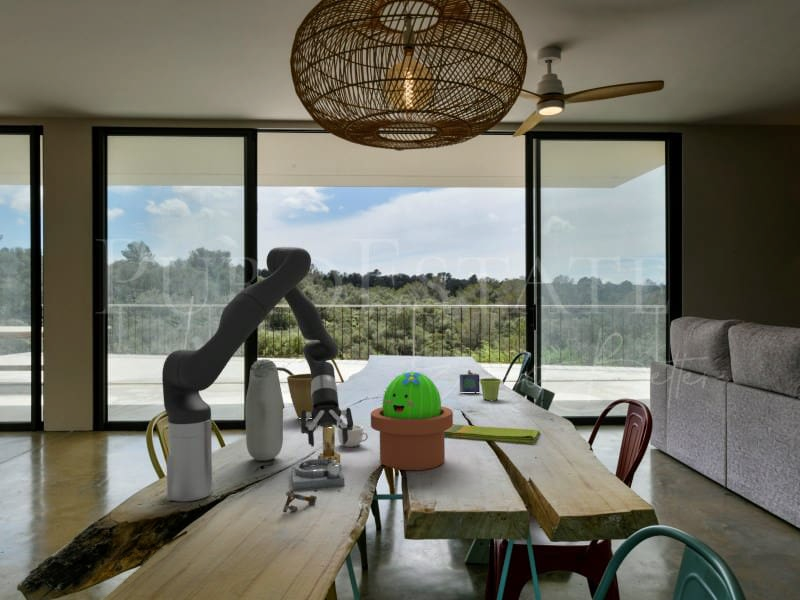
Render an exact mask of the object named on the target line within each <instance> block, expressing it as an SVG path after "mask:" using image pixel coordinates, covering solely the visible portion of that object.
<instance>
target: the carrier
mask: <svg viewBox="0 0 800 600" xmlns="http://www.w3.org/2000/svg"><path fill="white" fill-rule="evenodd" d="M291 478H292V490H293V491H299V490H308V489H309V490H311V489H322V488H323V489H324V488H331V487H333V488H335V487H343V486H345V476H344V473H343V471H342V464H341V462H340V463H337V460H330V459H318V458H315V459H307V460H303V461H299V462H297V463H296V464H295V465H294V466H292V467H291Z"/></svg>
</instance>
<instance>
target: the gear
mask: <svg viewBox="0 0 800 600" xmlns="http://www.w3.org/2000/svg"><path fill="white" fill-rule="evenodd" d="M335 427H336V426H335V425H333V426H324V427H322V452H321V453H319V454H318V455H317V459H330V460H337V463H340V464H341V453H338V452H337V451H336V446H335V445H336V442H335V441H336V440H335V438H336V436H335V433H336V432H335V431H336V430H335V429H336V428H335Z"/></svg>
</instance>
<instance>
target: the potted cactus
mask: <svg viewBox="0 0 800 600" xmlns="http://www.w3.org/2000/svg"><path fill="white" fill-rule="evenodd" d="M429 377H430V376H429V375H426V374H424V373H423V372H422V373H421V372H415V371H414V370H413V371H410V372H409V371H408V372H407V371H405V372H403V373H401V374H400V375H397V376H395V378H394V379H392V380H391V382H390V383H388V386H386V388H385V390H383V393H384V394H383V396H382V398H381V400H382V399H383V400H382V402H381V405H382V406H381V407H378V408H376V409H373V410H372V411H371V412H370V428H372V430H374V431H377V432H379V461H380V463H381V464H382V465H383V466H385V467H387V468H391V469H395V470H401V471H402V470H403V471H424V470H425V471H426V470H430V469H435V468H436V467H437V468H438V466H441V465H442V464H443V463H444V462H445V460H446V459H445V456H446V455H445V452H446V451H445V449H446V447H445V443H446V442H445V437H444V431H445V430H447V429H449V428H451V427H452V425H453V424H454V419H453V418H454V417H453V416H454V413H453V412H454V411H453V410H452V409H451V408H449V407H445V406H442V399H441V395H440V394H441V393H440V391H439V389H438V387H437V386H436V384H435V383H434V382H433V380H432V379H431V378H429Z"/></svg>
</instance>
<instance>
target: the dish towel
mask: <svg viewBox="0 0 800 600" xmlns="http://www.w3.org/2000/svg"><path fill="white" fill-rule="evenodd" d="M540 431H541V430H538V429H531V428H530V429H529V428H527V429H526V428H515V427H514V428H512V427H494V426H493V427H492V426H478V425H466V424H465V425H464V424H457V423H456V424H454V423H453V425H452V427H451V428H449V429H447V430H445V431H444V438H447V437H448V438H447V439H449V438H450V439H460V440H461V439H462V440H470V441H471V440H474V441H483V442H486V441H487V442H495V441H498V442H497V443H509V444H522V445H525V444H526V445H534V444H535V443H536V440H537V439H538V437H539V435H541V434H540Z"/></svg>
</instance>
